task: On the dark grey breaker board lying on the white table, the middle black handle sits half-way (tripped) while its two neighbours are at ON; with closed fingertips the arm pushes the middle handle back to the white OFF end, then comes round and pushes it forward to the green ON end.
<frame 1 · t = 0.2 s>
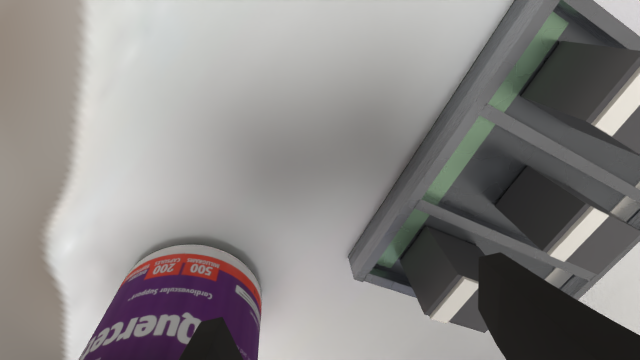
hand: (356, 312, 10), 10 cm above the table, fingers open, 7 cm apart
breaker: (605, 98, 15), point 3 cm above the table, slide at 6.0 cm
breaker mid: (562, 219, 18), point 3 cm above the table, slide at 3.0 cm
pill bottle: (197, 285, 22), on the table
panel: (523, 189, 21), on the table
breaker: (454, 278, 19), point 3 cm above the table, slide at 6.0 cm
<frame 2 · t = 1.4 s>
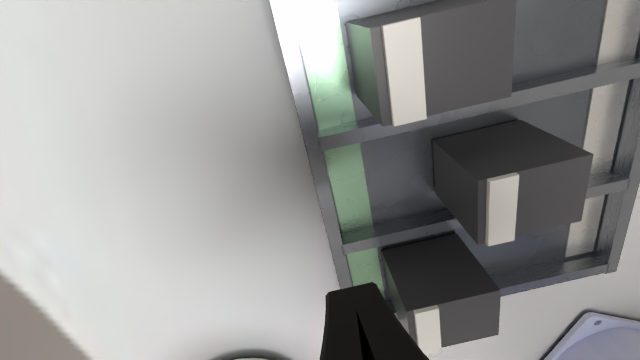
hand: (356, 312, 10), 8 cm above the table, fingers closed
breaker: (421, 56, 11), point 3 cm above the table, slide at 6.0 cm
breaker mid: (502, 178, 14), point 3 cm above the table, slide at 3.0 cm
panel: (464, 149, 17), on the table
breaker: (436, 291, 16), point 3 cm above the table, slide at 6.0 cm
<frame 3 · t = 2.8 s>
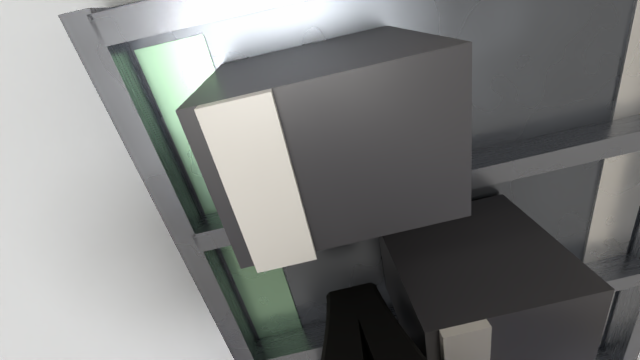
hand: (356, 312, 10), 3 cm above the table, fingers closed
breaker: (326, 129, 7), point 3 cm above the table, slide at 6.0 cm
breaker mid: (473, 291, 9), point 3 cm above the table, slide at 3.0 cm, touching gripper
panel: (427, 224, 12), on the table
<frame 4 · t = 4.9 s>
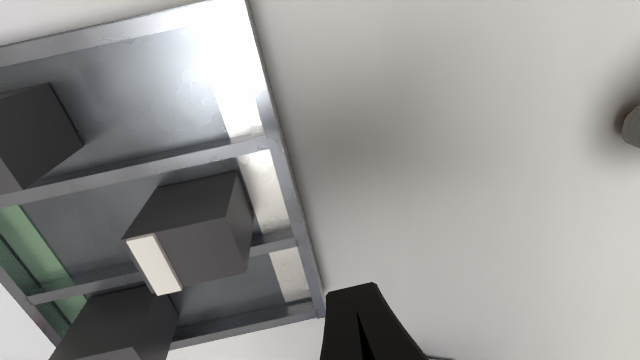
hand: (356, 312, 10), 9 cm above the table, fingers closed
light bulb: (628, 118, 19), on the table
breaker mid: (197, 228, 15), point 3 cm above the table, slide at -0.1 cm
panel: (153, 206, 18), on the table
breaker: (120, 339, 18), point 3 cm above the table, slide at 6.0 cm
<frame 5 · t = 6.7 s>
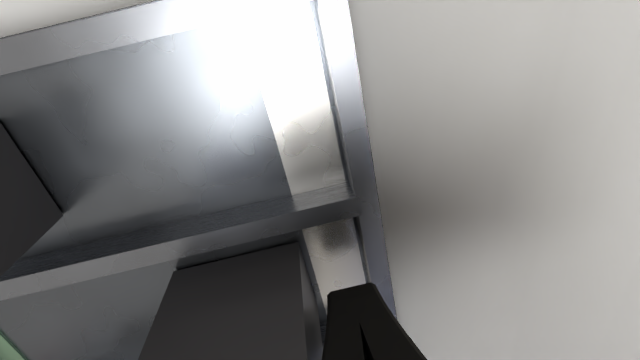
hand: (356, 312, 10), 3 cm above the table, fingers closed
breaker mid: (243, 344, 9), point 3 cm above the table, slide at 0.0 cm, touching gripper
panel: (171, 285, 12), on the table
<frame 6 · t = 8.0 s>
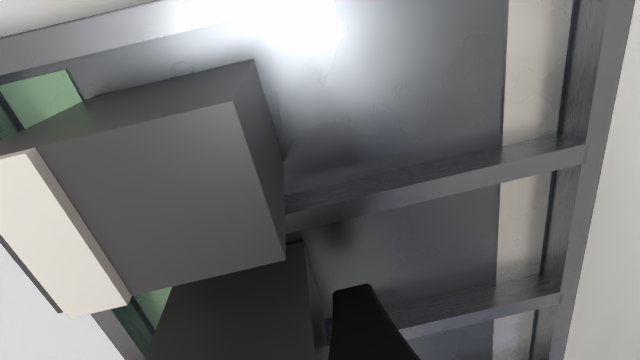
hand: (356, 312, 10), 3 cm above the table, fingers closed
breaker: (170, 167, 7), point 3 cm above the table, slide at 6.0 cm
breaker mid: (249, 343, 9), point 3 cm above the table, slide at 6.1 cm, touching gripper
panel: (339, 245, 12), on the table
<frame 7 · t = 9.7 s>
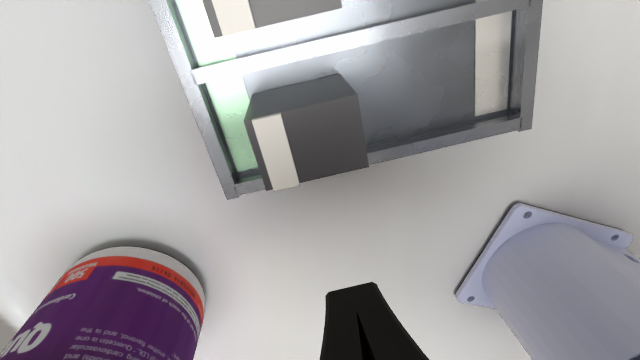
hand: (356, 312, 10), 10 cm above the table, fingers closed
pill bottle: (142, 288, 21), on the table
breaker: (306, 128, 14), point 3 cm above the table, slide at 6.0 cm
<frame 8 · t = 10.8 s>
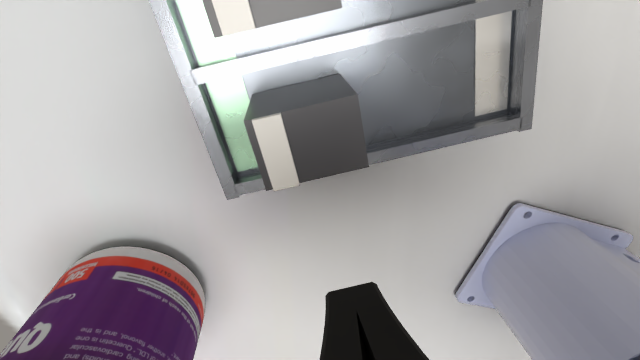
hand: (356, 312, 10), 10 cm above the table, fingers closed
pill bottle: (142, 288, 21), on the table
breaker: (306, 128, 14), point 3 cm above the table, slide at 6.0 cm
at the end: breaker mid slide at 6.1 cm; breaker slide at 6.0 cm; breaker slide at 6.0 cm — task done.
